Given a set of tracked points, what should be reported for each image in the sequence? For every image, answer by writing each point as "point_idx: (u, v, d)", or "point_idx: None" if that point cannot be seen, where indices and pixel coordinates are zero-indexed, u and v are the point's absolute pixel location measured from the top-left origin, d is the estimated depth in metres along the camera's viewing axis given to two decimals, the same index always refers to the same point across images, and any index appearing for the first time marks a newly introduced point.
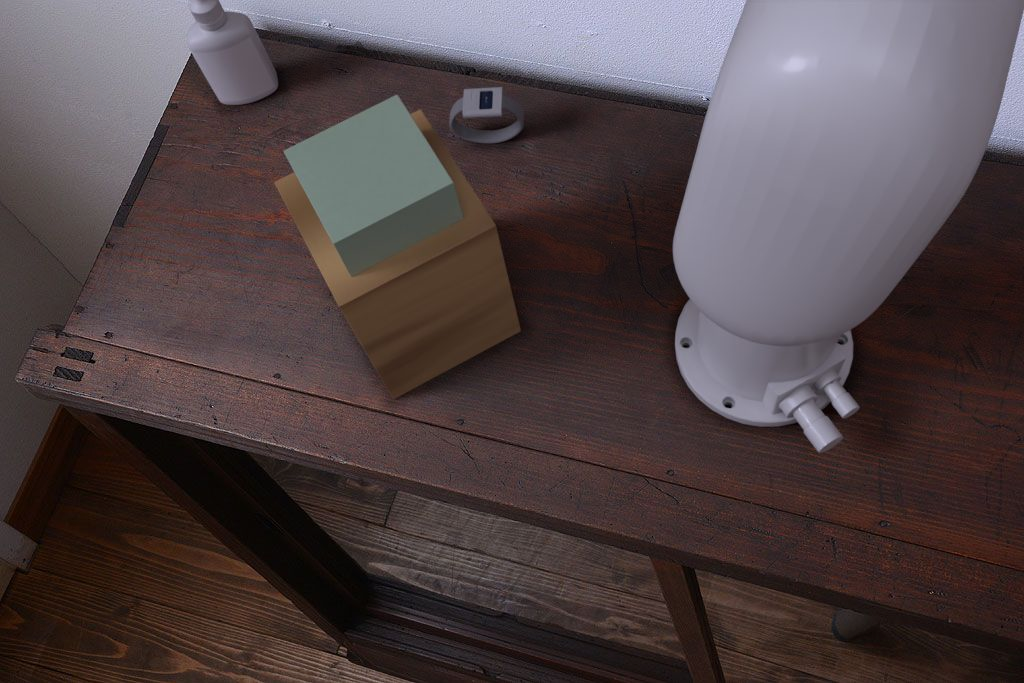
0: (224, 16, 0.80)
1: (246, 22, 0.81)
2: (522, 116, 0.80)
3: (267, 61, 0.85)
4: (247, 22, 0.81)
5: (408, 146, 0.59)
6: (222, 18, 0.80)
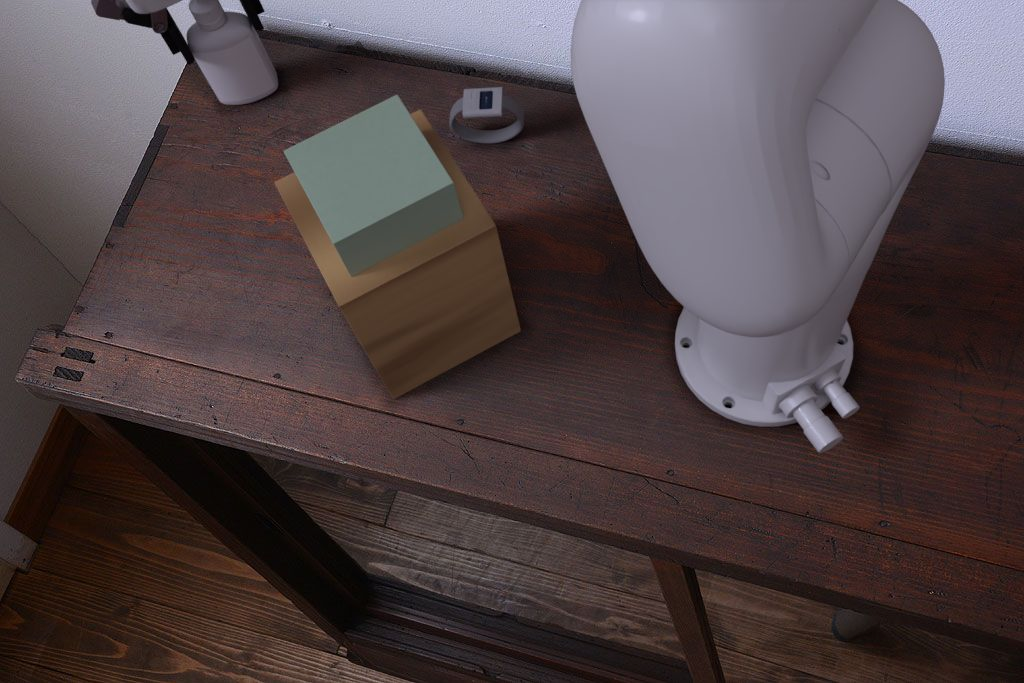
0: (224, 16, 0.80)
1: (246, 22, 0.81)
2: (522, 116, 0.80)
3: (267, 61, 0.85)
4: (247, 22, 0.81)
5: (408, 146, 0.59)
6: (222, 18, 0.80)
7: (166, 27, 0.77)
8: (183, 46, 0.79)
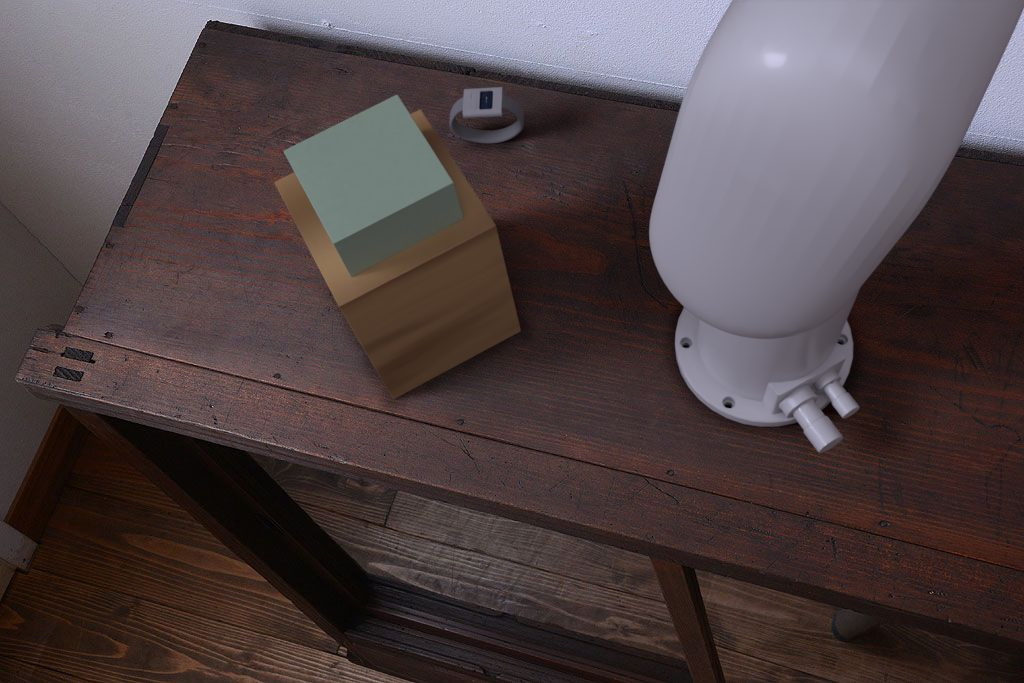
0: None
1: None
2: (522, 116, 0.80)
3: None
4: None
5: (408, 146, 0.59)
6: None
7: None
8: None
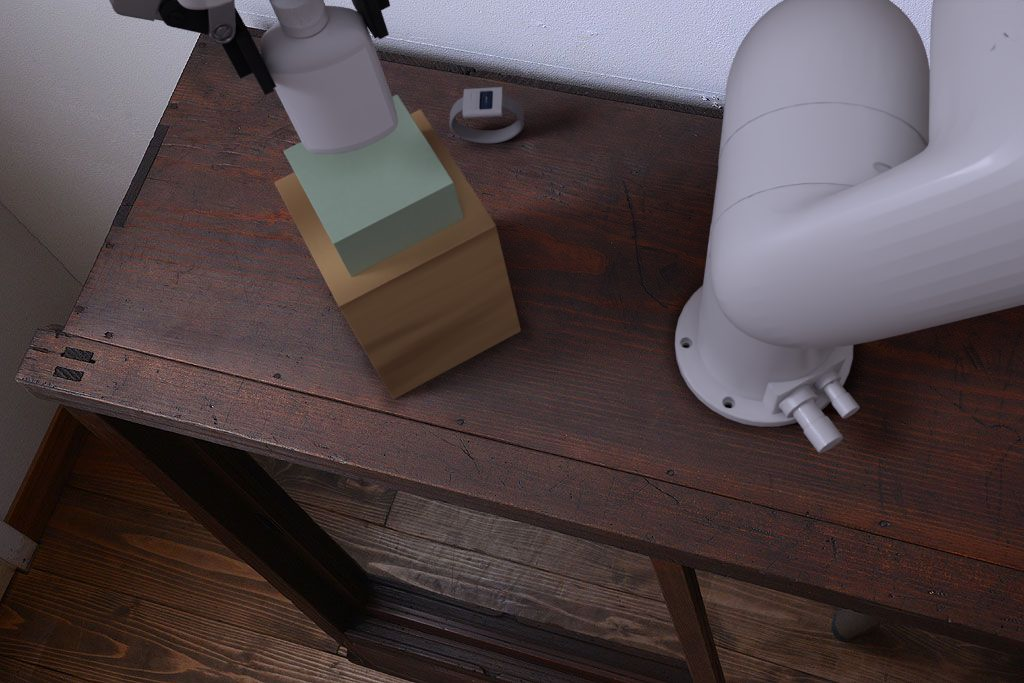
0: (326, 13, 0.48)
1: (360, 23, 0.49)
2: (522, 116, 0.80)
3: (386, 86, 0.53)
4: (361, 24, 0.49)
5: (408, 146, 0.59)
6: (322, 16, 0.48)
7: (233, 33, 0.45)
8: (259, 64, 0.47)
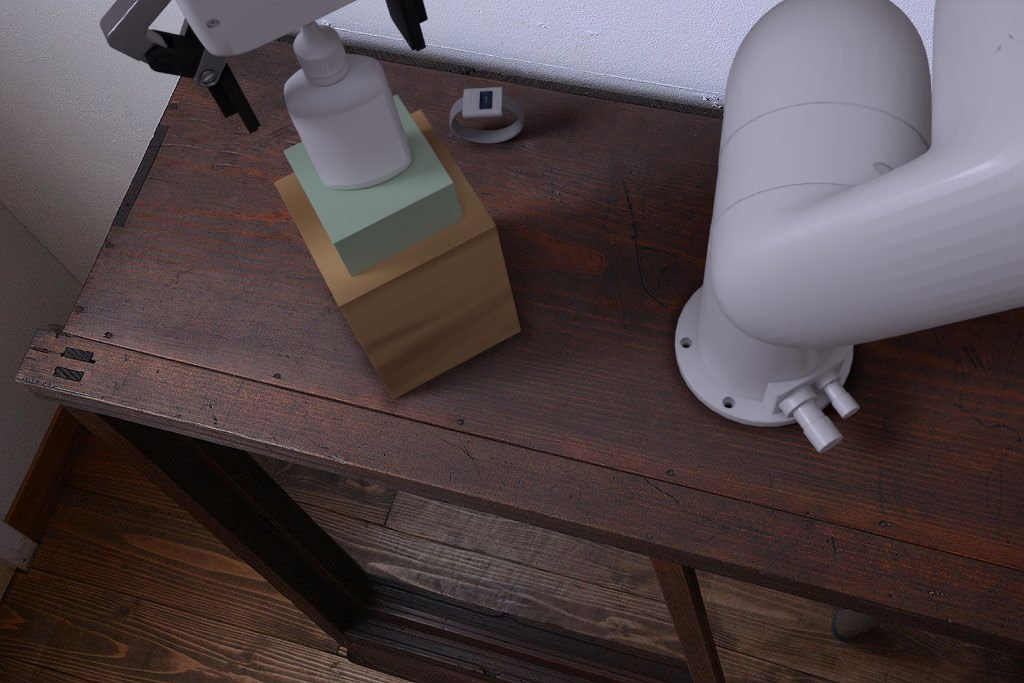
0: (347, 63, 0.51)
1: (378, 71, 0.52)
2: (522, 116, 0.80)
3: (401, 127, 0.56)
4: (379, 71, 0.52)
5: None
6: (343, 65, 0.51)
7: (217, 77, 0.47)
8: (243, 106, 0.49)
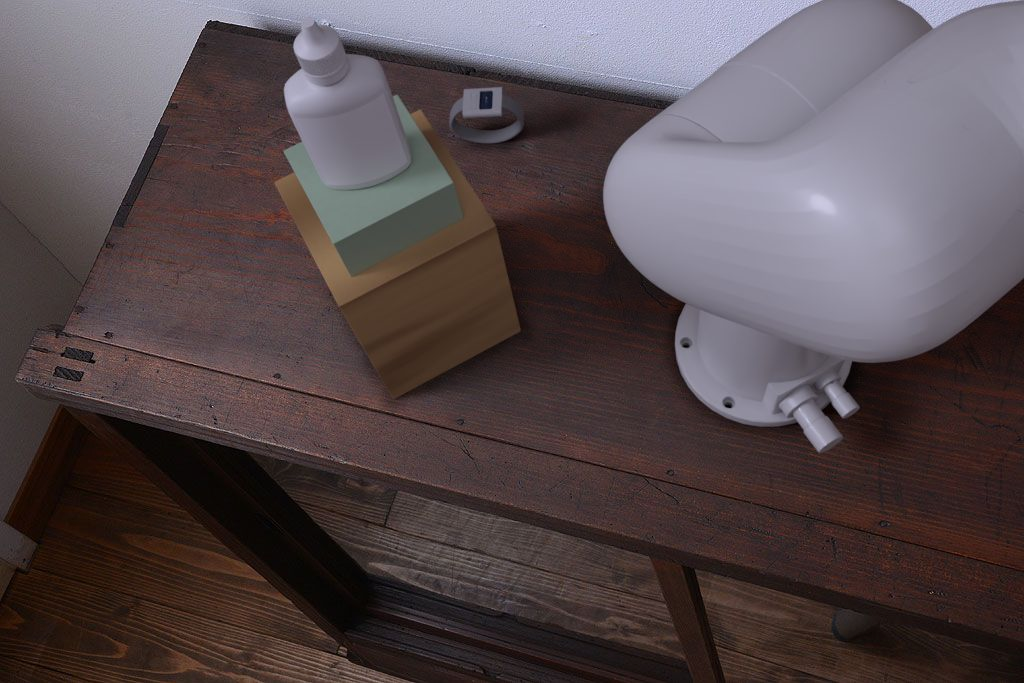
0: (347, 63, 0.51)
1: (378, 71, 0.52)
2: (522, 116, 0.80)
3: (401, 127, 0.56)
4: (379, 72, 0.52)
5: None
6: (343, 65, 0.51)
7: None
8: None
